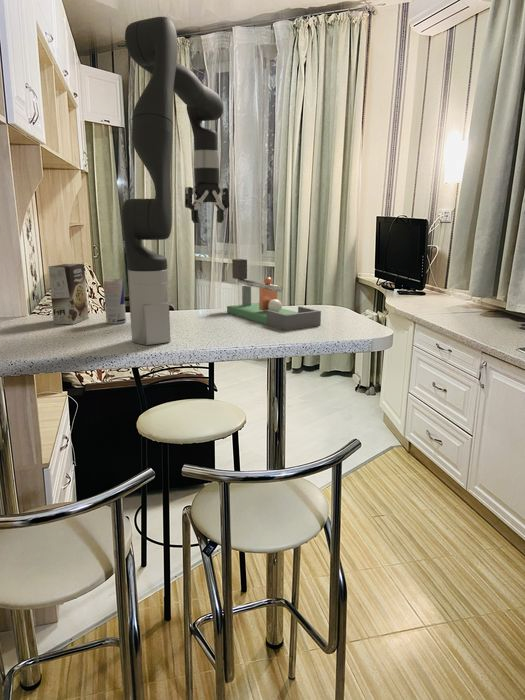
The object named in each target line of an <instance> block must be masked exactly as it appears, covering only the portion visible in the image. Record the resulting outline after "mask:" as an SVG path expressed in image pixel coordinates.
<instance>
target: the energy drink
mask: <svg viewBox="0 0 525 700" xmlns="http://www.w3.org/2000/svg"><path fill="white" fill-rule="evenodd" d="M123 281H124V280H123V279H119V278H118V279H117V278H116V279H115V278H113V279H111V278H110V279H104V280H103V294H104V295H103V297H104V307H105V309H104V311H105V321H106V323H107V324H108V325H121V324H122V325H123V324H125V323H126V321H127V320H126V319H127V318H126V317H127V315H126V303H125V289H124V288H125V287H124V282H123Z"/></svg>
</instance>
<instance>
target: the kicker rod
mask: <svg viewBox="0 0 525 700" xmlns="http://www.w3.org/2000/svg"><path fill="white" fill-rule="evenodd" d="M231 261H232V262H231V263H232V266H231V267H232V268H231V269H232V279H235V280H237V283H238V284H239V285H243V286H251V287H255V288H259V289H258V290H259V291H258V294H259V295H258V297H259V298H258V299H259V302H258V303H259V310H262V311H265V310H269V308H268V304H269V302H270V301H271V300H273V299H277V300H278V293H281V292H282V291H283V287H282V286H279V285H276V284H273V279H272V278H271V277H269V276H267V277H265V278H264V281H263V282H260V281H255V280H254V281H253V280H249V279H248V259H245V258H233V259H231Z"/></svg>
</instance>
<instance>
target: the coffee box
mask: <svg viewBox="0 0 525 700" xmlns="http://www.w3.org/2000/svg"><path fill="white" fill-rule="evenodd" d="M48 276H49V287H50V298H51V308H52V309H51V310H52V321H53V324H54V325H56V324H59V325H61V324H62V325H75V323H76V324H78V323H80V321H81V322H83V321H86V320H88V319H89V307H88V306H89V305H88V304H89V303H88V294H87V284H86V283H87V282H86V271H85V263H63V264H57V265H49V266H48Z"/></svg>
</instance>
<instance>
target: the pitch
mask: <svg viewBox="0 0 525 700" xmlns="http://www.w3.org/2000/svg"><path fill="white" fill-rule="evenodd" d="M241 289H242V290H241V292H242V293H241V304H235V305H227V306H226V313H228V314H231V315H234V316H238V317H241V318H245V319H246V320H247V319H248V320H251V321H254V322H257V323H259V324H264V325H267V326H269V327H272V328H276V329H280V330H284V331H290V330H299V329H304V328H311V327H317V326H318V327H319V326H321V325H322V324H321V320H322V316H321V315H322V311H321V310H317V309H314V308H310V307H304V306H302V305H301V306H298V307H297V311H293V310H289V309H287V308H286V309H285V308H283V307H282V308H281V310H280V311H279V312H275V311H271V310H265V311H262V310H259V302H253V303H252V286H249V285H242V287H241Z"/></svg>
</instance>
